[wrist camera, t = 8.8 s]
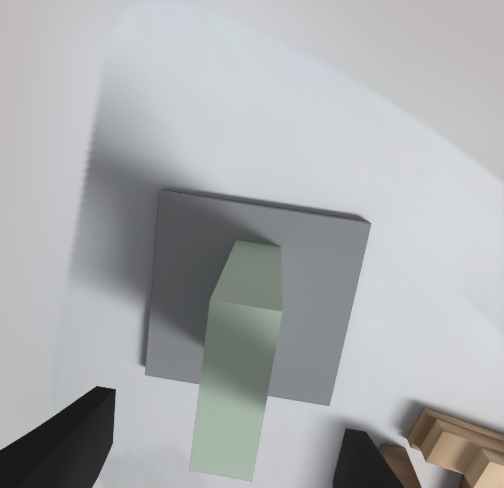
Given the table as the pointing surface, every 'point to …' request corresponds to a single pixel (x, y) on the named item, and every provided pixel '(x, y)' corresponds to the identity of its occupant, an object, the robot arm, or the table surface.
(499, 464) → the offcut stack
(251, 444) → the panel
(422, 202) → the table surface
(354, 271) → the mat
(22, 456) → the robot arm
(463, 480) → the rack
